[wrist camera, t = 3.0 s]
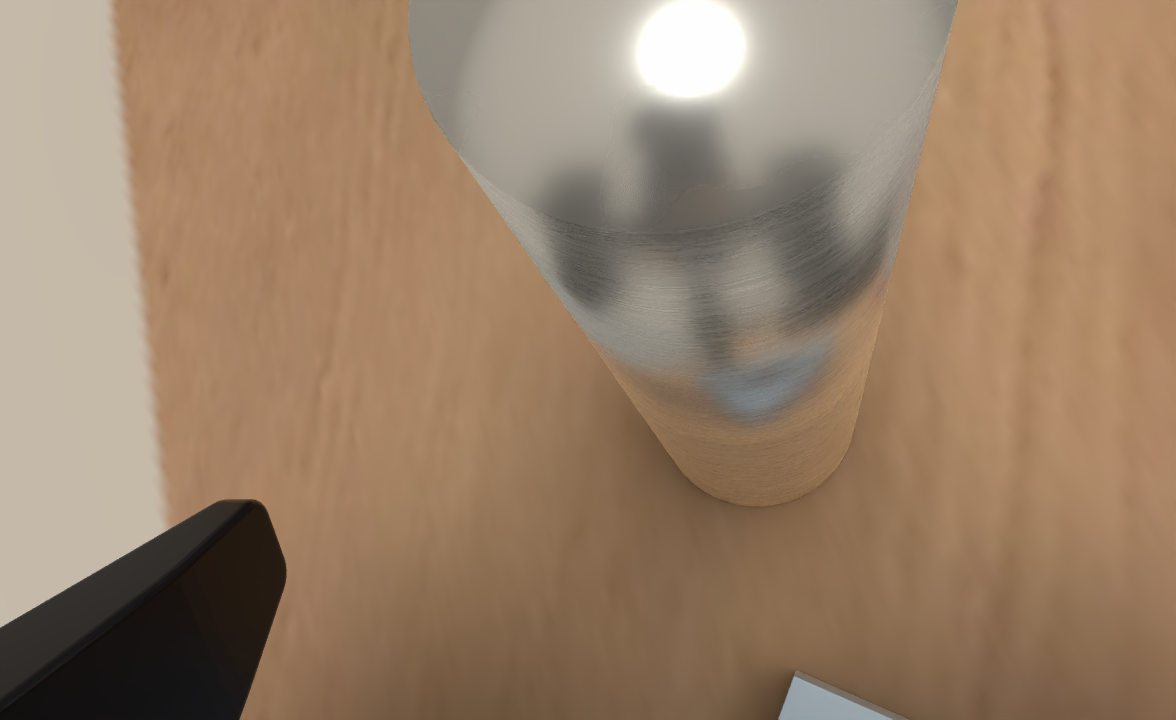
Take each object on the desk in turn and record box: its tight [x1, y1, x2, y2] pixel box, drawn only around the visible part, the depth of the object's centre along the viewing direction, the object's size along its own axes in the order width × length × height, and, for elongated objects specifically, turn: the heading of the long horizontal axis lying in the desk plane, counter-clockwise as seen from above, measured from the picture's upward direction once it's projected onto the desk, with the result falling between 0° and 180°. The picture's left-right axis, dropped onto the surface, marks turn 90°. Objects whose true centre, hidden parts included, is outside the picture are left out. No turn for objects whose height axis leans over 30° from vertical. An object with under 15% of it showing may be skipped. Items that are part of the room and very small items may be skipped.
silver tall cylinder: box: [409, 0, 958, 507], centre depth 14 cm, size 4×4×14 cm
